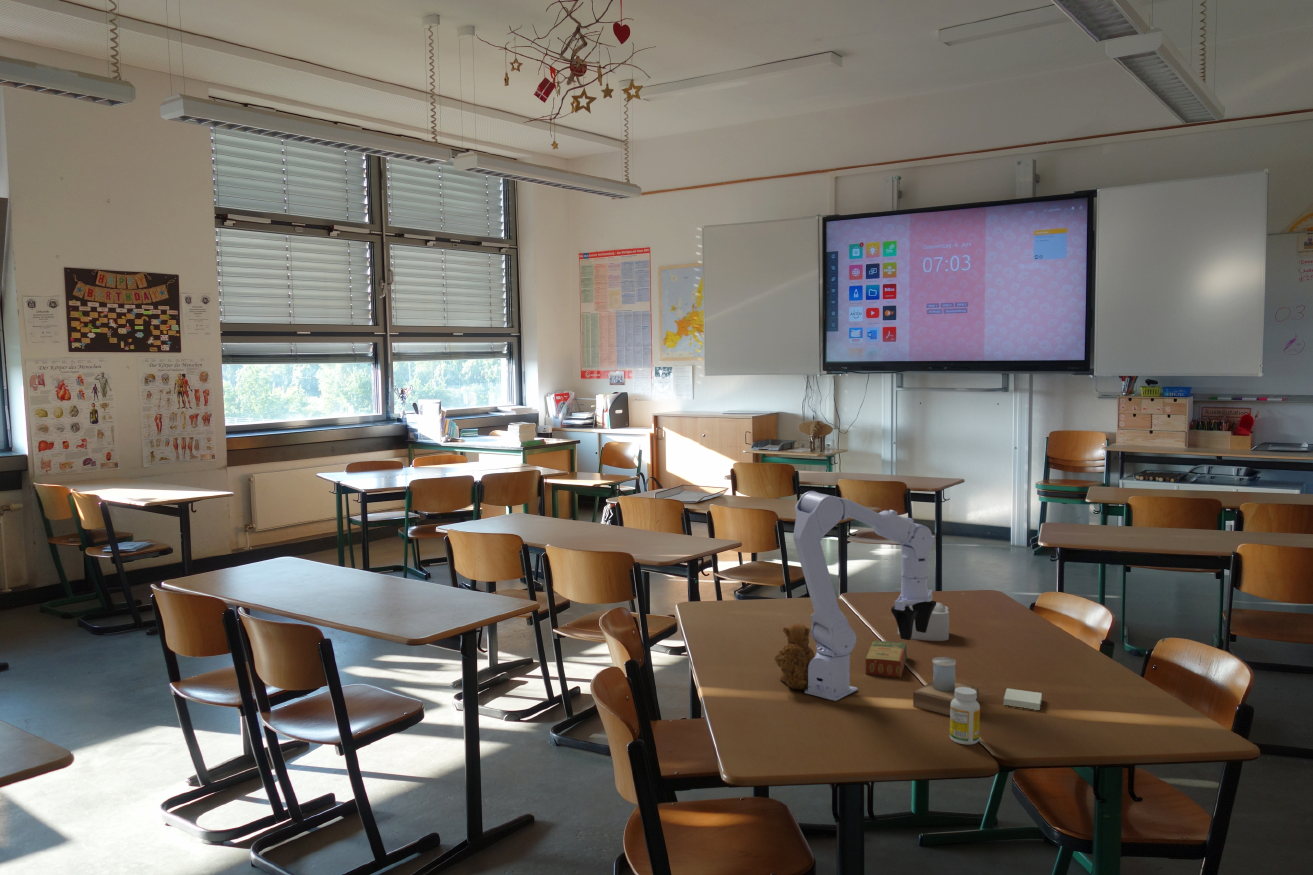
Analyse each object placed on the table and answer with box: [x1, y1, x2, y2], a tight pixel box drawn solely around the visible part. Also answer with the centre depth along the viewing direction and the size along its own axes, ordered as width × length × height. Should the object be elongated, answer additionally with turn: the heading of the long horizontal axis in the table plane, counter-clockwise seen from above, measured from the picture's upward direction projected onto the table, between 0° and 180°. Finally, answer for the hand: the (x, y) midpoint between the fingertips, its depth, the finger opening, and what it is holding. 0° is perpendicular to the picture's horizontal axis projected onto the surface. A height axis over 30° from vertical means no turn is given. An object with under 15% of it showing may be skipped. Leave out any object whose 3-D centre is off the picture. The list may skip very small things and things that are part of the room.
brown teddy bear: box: [773, 622, 816, 691], centre depth 209 cm, size 10×14×13 cm
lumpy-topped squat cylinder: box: [897, 601, 950, 642], centre depth 247 cm, size 10×13×9 cm
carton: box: [864, 640, 908, 678], centre depth 222 cm, size 8×16×4 cm, turn 161°
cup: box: [932, 656, 957, 692], centre depth 196 cm, size 5×5×6 cm
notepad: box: [1003, 688, 1043, 711], centre depth 197 cm, size 7×7×2 cm
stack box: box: [912, 680, 980, 716], centre depth 196 cm, size 12×9×3 cm
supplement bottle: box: [949, 687, 981, 746], centre depth 177 cm, size 5×5×10 cm
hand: (913, 635), depth 210 cm, fingers open, 7 cm apart
